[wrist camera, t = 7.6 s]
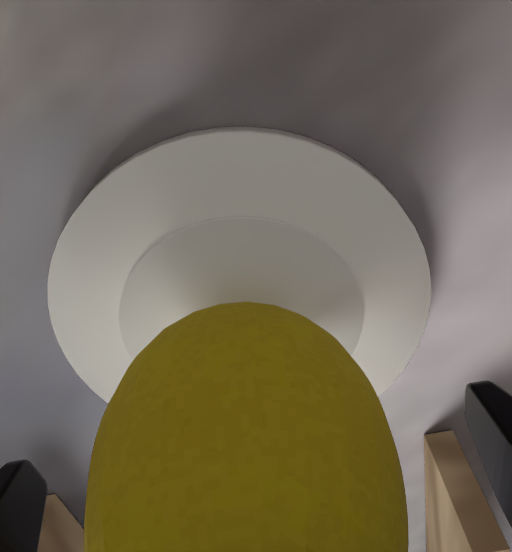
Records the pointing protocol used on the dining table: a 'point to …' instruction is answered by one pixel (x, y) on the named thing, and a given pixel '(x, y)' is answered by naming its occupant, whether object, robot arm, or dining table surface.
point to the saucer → (237, 250)
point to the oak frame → (438, 497)
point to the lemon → (245, 444)
